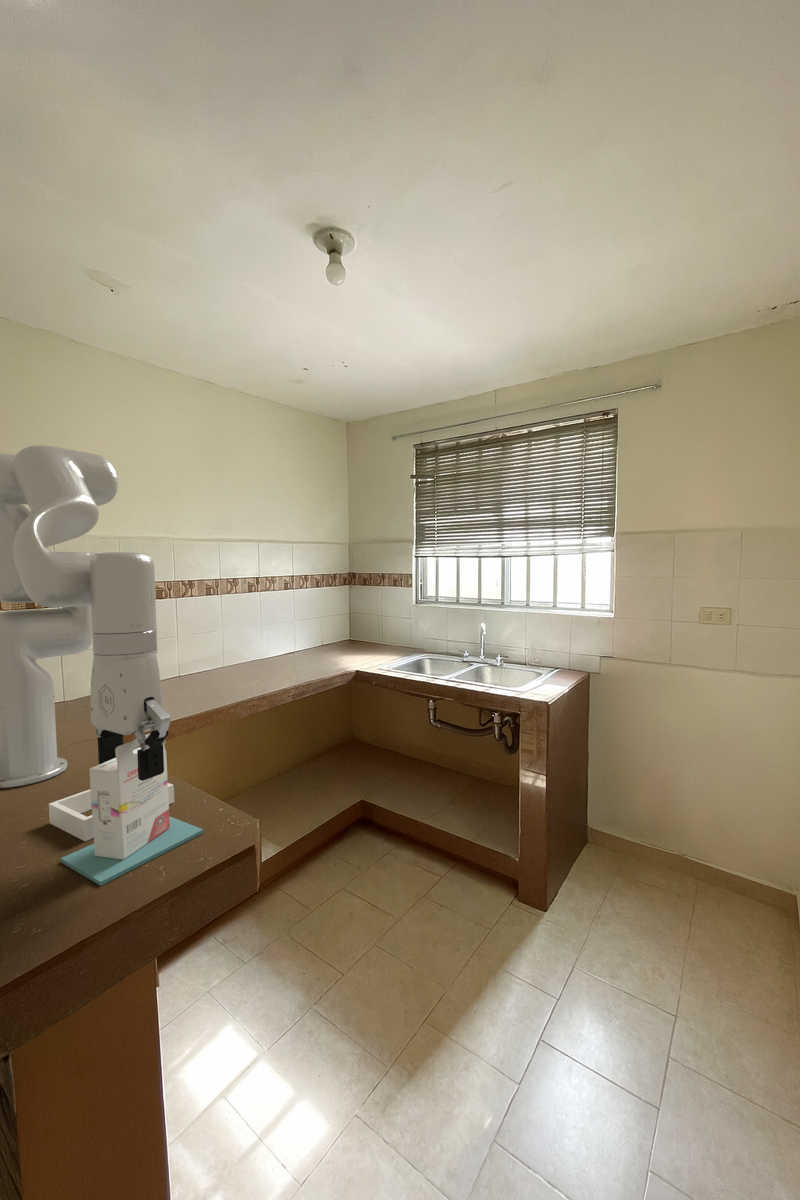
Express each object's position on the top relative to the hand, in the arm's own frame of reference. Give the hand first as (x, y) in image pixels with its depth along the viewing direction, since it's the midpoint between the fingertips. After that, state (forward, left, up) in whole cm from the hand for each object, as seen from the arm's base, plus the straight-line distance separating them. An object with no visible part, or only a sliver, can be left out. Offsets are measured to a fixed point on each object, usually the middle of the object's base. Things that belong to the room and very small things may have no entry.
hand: (130, 769), depth 66 cm
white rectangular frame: (-13, +4, -11) cm, 17 cm away
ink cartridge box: (0, 0, -10) cm, 10 cm away
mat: (0, 0, -11) cm, 11 cm away
